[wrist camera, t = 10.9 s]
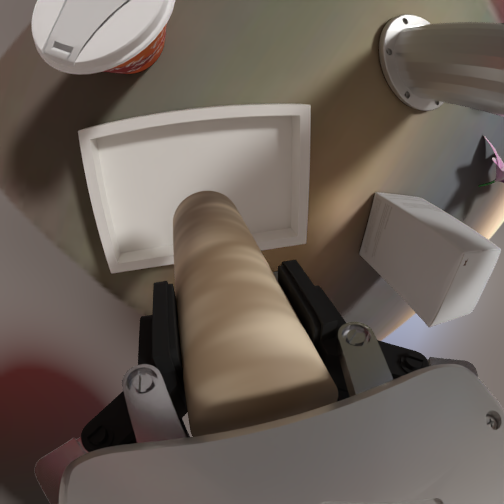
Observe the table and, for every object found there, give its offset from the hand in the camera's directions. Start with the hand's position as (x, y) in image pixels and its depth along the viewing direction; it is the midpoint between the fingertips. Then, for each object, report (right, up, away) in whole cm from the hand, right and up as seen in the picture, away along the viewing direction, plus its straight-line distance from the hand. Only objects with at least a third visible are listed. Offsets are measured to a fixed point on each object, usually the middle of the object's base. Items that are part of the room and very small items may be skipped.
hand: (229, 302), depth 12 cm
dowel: (-2, +4, +7) cm, 8 cm away
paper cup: (-9, +20, +7) cm, 24 cm away
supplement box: (+19, +6, +24) cm, 31 cm away
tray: (-4, +9, +15) cm, 18 cm away
